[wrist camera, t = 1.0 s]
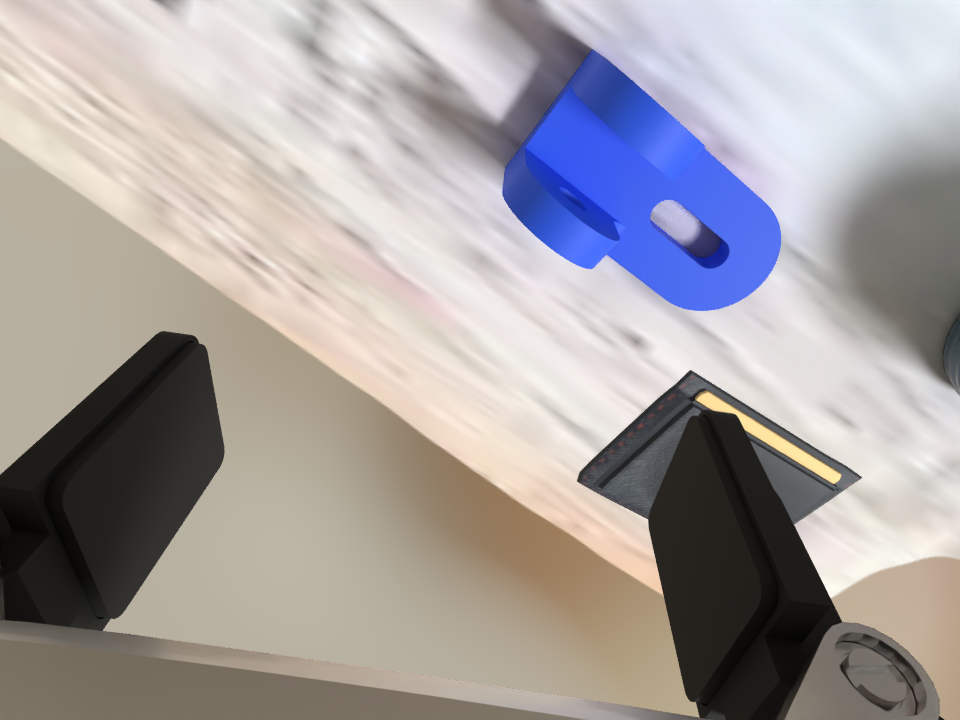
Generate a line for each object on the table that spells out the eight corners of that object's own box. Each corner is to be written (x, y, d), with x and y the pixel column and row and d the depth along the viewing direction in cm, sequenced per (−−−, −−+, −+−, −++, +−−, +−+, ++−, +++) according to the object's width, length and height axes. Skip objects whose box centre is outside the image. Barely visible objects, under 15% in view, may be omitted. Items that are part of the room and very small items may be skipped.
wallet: (572, 488, 49) (700, 372, 42) (570, 472, 51) (694, 359, 44) (733, 578, 54) (873, 489, 47) (727, 562, 56) (861, 473, 49)
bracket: (505, 167, 36) (500, 210, 29) (591, 49, 32) (613, 63, 25) (700, 317, 41) (739, 388, 33) (795, 230, 37) (865, 289, 30)
